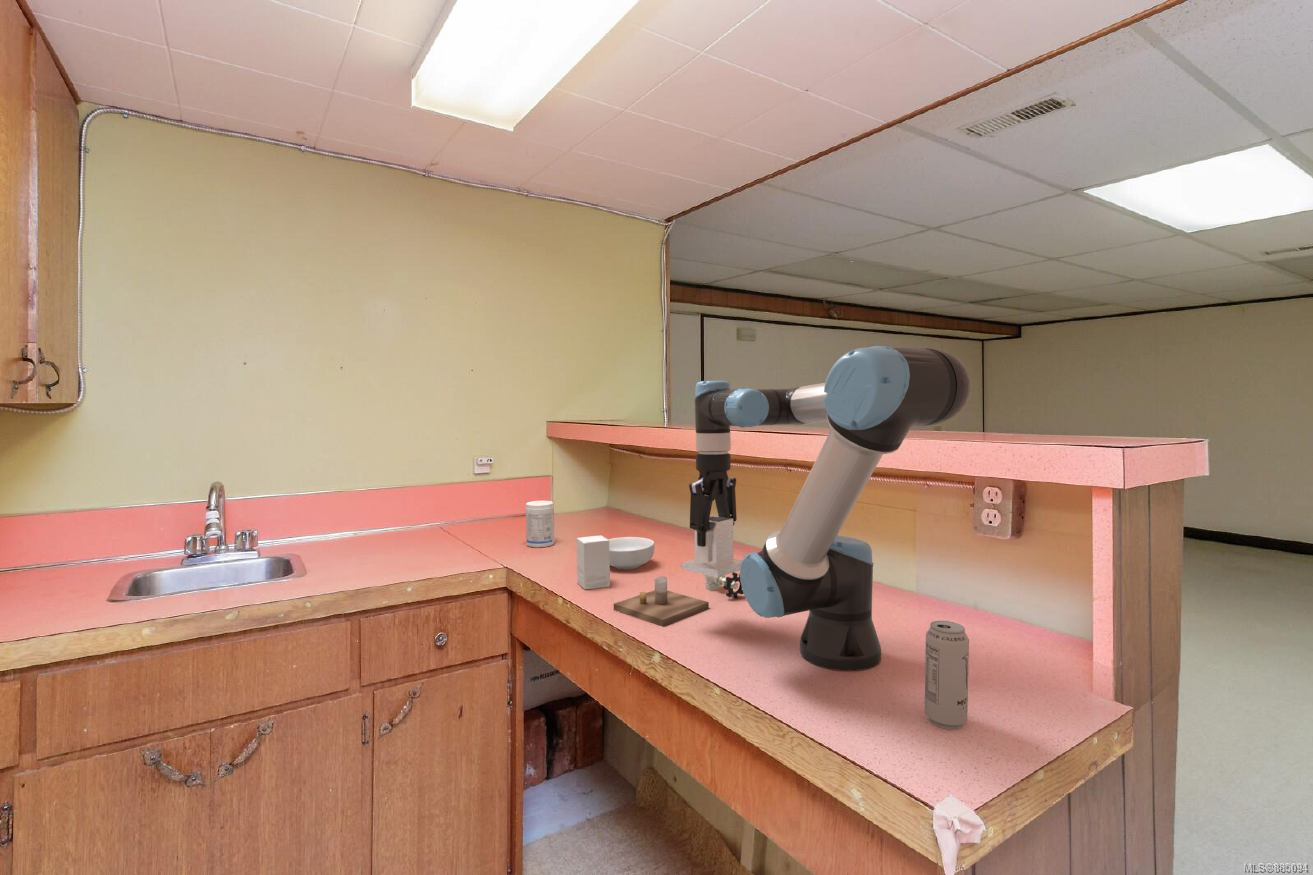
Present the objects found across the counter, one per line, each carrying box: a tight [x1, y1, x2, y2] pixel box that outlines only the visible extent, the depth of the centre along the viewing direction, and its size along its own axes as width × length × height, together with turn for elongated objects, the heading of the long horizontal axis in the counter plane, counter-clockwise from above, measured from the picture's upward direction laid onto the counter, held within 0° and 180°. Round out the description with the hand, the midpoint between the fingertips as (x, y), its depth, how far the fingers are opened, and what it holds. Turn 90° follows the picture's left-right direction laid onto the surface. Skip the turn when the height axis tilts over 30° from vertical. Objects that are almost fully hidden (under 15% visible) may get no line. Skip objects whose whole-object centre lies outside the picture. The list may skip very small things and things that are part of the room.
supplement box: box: [576, 535, 611, 591], centre depth 170 cm, size 7×7×13 cm
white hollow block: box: [681, 514, 743, 577], centre depth 138 cm, size 10×10×11 cm
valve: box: [704, 572, 744, 600], centre depth 162 cm, size 7×7×12 cm
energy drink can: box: [924, 620, 970, 730], centre depth 97 cm, size 6×6×15 cm
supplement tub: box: [525, 500, 555, 549], centre depth 217 cm, size 10×10×15 cm
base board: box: [613, 575, 710, 627], centre depth 150 cm, size 16×16×8 cm
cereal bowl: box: [607, 536, 655, 571], centre depth 189 cm, size 17×17×7 cm
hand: (714, 557), depth 138 cm, fingers closed on white hollow block, 6 cm apart
